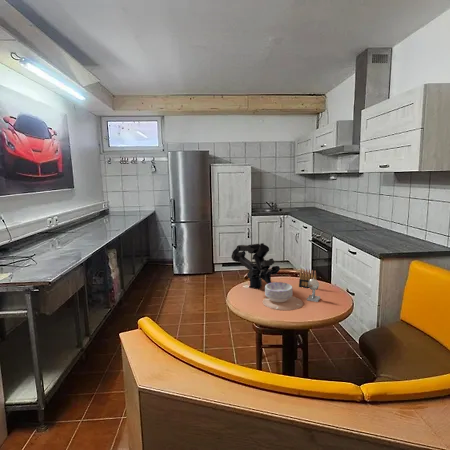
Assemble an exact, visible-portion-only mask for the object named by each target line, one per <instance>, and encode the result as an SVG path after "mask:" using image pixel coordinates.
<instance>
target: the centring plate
mask: <svg viewBox="0 0 450 450" xmlns="http://www.w3.org/2000/svg"><path fill="white" fill-rule="evenodd" d="M262 304H263V305H264V306H265V307H267V308H270V309H271V310H276V311H293V310H298V309H301V308H302V307H303V306H304V302H303V300H302V299H301V298H298V297H295V296H293V295H292V297H290V298H289V299H288V300H287V301H286V302H281V303H278V302H273V301H271V300H270V299H269V297H267V296H265V297H264V298H263V300H262Z"/></svg>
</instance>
